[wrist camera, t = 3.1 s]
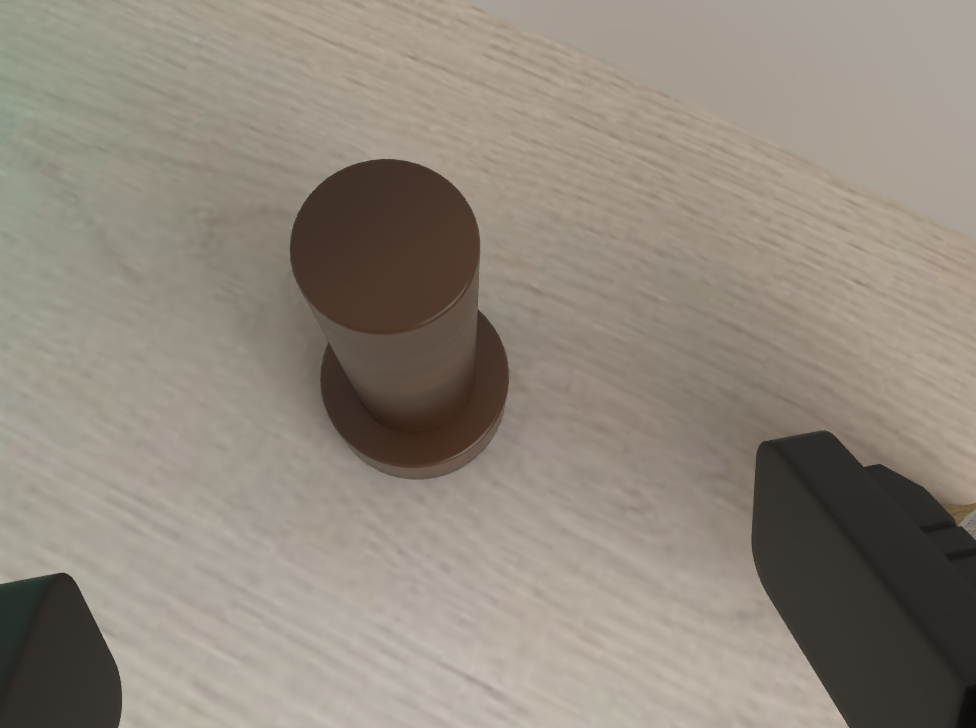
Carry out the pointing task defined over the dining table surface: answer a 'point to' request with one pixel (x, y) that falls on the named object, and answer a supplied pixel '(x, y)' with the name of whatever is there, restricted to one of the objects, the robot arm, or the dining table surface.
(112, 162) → the dining table surface
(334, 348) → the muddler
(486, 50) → the dining table surface
